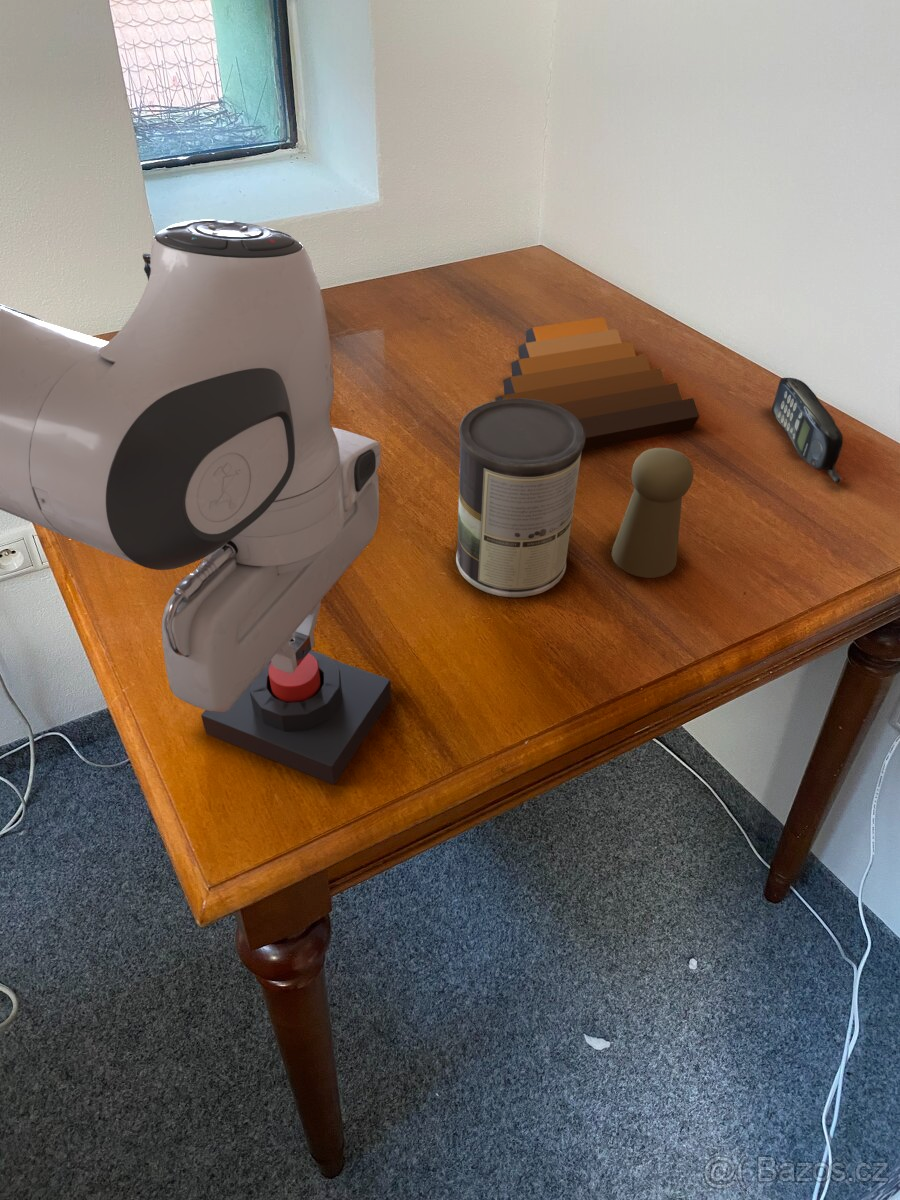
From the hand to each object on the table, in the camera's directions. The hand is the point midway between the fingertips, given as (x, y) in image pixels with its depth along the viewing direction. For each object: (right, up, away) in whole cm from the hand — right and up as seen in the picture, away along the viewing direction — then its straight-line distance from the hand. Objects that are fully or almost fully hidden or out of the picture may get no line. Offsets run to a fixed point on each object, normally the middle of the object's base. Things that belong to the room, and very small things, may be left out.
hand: (294, 657), depth 62 cm
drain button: (0, -2, +2) cm, 3 cm away
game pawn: (+29, +8, +20) cm, 36 cm away
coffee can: (+17, +8, +19) cm, 26 cm away
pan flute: (+23, +28, +41) cm, 55 cm away
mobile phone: (+50, +21, +34) cm, 64 cm away
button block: (0, -5, +5) cm, 7 cm away
